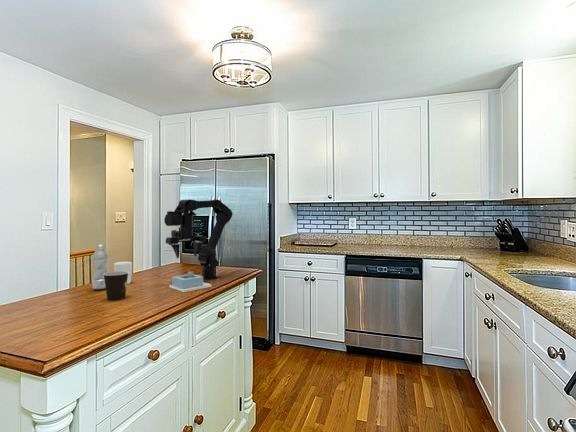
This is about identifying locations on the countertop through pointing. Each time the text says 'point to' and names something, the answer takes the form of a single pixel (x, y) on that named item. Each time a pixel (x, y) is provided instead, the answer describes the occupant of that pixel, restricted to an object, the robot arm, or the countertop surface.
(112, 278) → the coffee mug
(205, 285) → the white base with peg
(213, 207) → the robot arm
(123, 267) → the white cup
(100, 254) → the plastic bottle
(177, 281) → the loop frame
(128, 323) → the countertop surface
